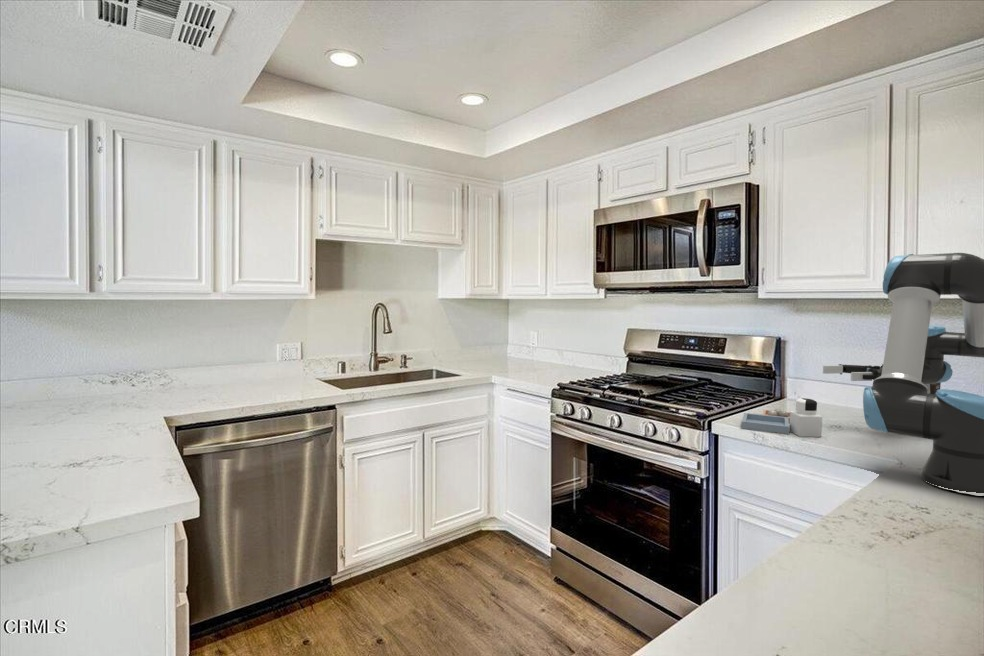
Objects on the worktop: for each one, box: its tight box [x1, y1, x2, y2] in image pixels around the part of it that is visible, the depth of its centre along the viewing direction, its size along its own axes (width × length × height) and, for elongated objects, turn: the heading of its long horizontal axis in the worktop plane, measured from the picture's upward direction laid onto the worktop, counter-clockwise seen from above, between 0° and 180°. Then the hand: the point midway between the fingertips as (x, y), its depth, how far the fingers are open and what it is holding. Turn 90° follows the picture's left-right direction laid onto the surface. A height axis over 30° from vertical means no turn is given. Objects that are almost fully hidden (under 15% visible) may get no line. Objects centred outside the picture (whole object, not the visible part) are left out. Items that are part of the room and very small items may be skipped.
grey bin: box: [741, 412, 790, 435], centre depth 181 cm, size 14×14×3 cm
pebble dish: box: [762, 409, 790, 424], centre depth 191 cm, size 10×10×2 cm
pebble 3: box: [779, 410, 788, 417], centre depth 189 cm, size 3×3×3 cm
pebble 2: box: [773, 408, 783, 416], centre depth 193 cm, size 3×3×3 cm
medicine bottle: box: [789, 397, 823, 438], centre depth 171 cm, size 7×7×12 cm
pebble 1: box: [768, 409, 777, 416], centre depth 190 cm, size 3×3×3 cm
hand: (836, 373), depth 170 cm, fingers open, 13 cm apart
